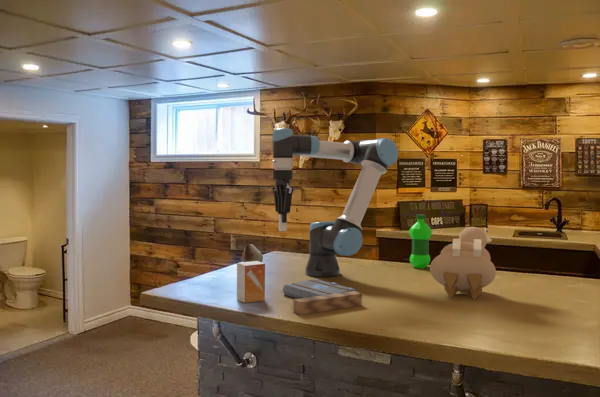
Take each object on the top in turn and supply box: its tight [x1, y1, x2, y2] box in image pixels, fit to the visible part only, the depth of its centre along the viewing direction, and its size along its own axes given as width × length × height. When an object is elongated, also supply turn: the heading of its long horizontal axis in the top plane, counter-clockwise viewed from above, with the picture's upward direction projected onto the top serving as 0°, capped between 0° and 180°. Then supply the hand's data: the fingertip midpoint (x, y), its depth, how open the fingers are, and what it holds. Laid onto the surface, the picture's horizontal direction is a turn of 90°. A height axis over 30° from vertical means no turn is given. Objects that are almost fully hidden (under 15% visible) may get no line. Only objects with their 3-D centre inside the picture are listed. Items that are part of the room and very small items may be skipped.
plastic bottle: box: [408, 214, 432, 269], centre depth 231 cm, size 10×10×25 cm
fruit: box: [242, 241, 264, 263], centre depth 227 cm, size 10×9×12 cm
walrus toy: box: [429, 226, 497, 301], centre depth 179 cm, size 30×28×23 cm
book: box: [282, 278, 357, 299], centre depth 175 cm, size 21×16×5 cm
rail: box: [293, 290, 363, 316], centre depth 160 cm, size 24×4×4 cm, turn 120°
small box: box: [236, 261, 266, 304], centre depth 170 cm, size 8×6×13 cm
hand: (282, 230), depth 188 cm, fingers closed
